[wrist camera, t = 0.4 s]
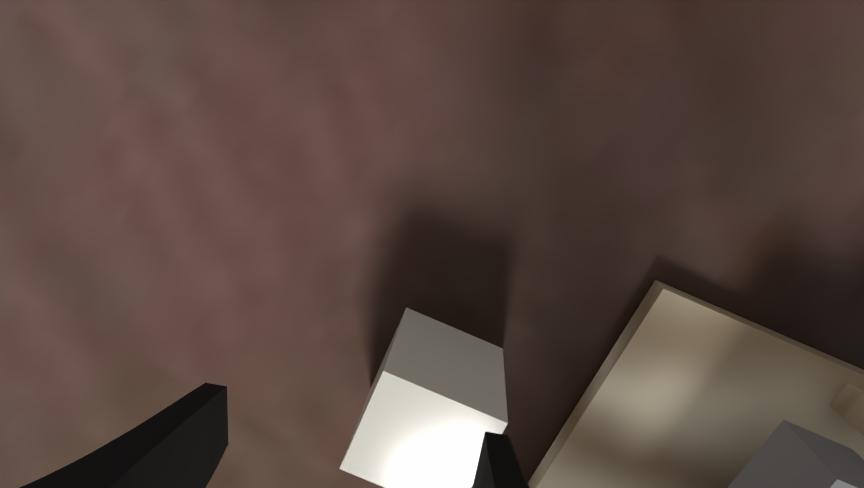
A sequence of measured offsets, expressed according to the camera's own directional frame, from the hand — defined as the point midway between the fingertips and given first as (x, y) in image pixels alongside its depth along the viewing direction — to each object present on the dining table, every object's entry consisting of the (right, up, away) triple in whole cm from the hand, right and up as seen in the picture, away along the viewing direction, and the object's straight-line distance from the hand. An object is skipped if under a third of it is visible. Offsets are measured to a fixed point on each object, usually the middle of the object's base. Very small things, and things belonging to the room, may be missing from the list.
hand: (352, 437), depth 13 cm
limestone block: (+2, -1, +11) cm, 11 cm away
